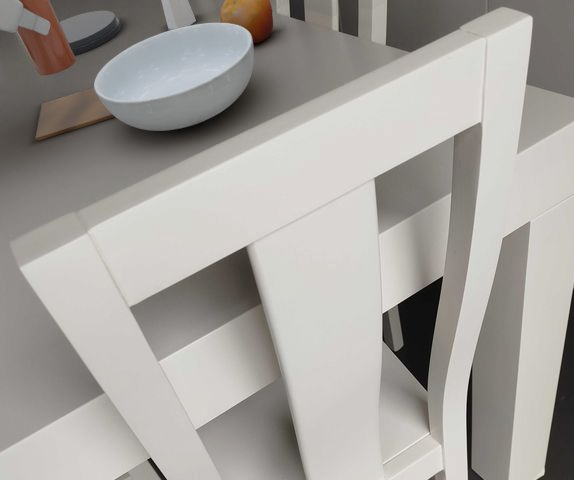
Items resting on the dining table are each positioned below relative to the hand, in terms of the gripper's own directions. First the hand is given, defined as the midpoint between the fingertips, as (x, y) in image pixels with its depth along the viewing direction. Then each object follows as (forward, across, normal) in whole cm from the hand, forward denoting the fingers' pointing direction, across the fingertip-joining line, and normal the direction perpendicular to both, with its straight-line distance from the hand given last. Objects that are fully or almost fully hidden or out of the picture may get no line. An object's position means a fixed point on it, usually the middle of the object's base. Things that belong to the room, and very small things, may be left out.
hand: (41, 23), depth 78 cm
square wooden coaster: (+8, 0, -9) cm, 12 cm away
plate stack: (+15, -32, -2) cm, 35 cm away
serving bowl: (+16, +16, -1) cm, 23 cm away
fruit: (+28, +2, +11) cm, 31 cm away
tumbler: (+3, 0, -4) cm, 5 cm away
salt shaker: (+26, -17, +9) cm, 32 cm away
